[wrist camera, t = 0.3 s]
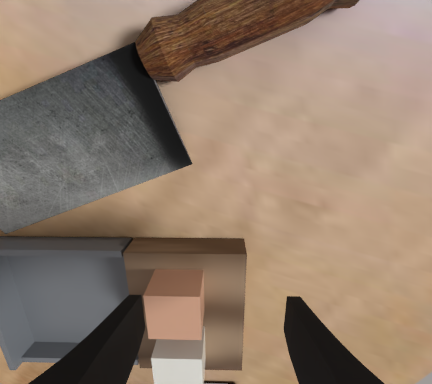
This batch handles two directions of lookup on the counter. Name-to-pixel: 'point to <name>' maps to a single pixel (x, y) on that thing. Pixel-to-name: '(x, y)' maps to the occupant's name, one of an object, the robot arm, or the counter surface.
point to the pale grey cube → (179, 361)
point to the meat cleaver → (123, 108)
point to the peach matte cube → (175, 304)
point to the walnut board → (213, 290)
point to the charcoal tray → (56, 293)
